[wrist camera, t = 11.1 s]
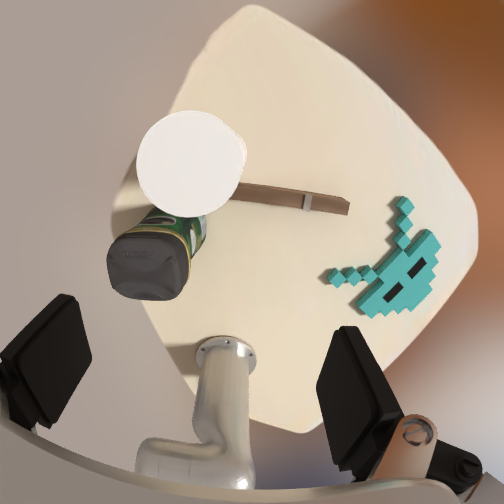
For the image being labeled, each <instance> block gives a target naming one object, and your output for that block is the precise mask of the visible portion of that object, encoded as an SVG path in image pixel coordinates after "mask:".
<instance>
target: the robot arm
mask: <svg viewBox="0 0 504 504" xmlns="http://www.w3.org/2000/svg"><path fill="white" fill-rule="evenodd" d="M0 358H1V360H2V362H1V363H0V504H504V484H502V483H501V482H499V481H498V480H497V479H496V478H494V477H493V476H492V475H490V474H489V473H488V472H485V473H484V474H483V473H482V464H481V462H480V460H479V459H478V458H477V456H475V455H474V454H472V453H470V452H467V451H464V450H462V449H459V448H457V447H455V446H452V445H450V444H447V443H445V442H443V441H440V440H438V439H437V430H436V427H435V426H434V424H433V423H432V422H431V421H430V420H429V419H428V418H426V417H424V416H422V415H418V414H410V415H407V416H404V414H403V412H402V410H401V408H400V406H399V404H398V401H397V399H396V397H395V396H394V394H393V391H392V389H391V388H390V386H389V384H388V382H387V380H386V378H385V376H384V374H383V372H382V370H381V368H380V366H379V365H378V363H377V362H376V360H375V358H374V356H373V354H372V352H371V350H370V349H369V347H368V345H367V343H366V341H365V339H364V338H363V336H362V334H361V332H360V330H359V328H358V327H357V326H341V327H340V328H339V330H335V332H334V334H333V337H332V340H331V343H330V346H329V349H328V352H327V355H326V358H325V361H324V364H323V367H322V370H321V372H320V375H319V378H318V381H317V384H316V392H317V396H318V400H319V404H320V408H321V412H322V416H323V421H324V425H325V429H326V433H327V438H328V441H329V446H330V451H331V455H332V459H333V463H334V464H335V465H338V466H339V470H340V472H341V471H347V470H352V474H353V476H354V478H353V479H352V481H351V482H350V483H348V484H342V485H334V486H326V487H316V488H303V489H285V490H253V489H254V486H255V470H254V465H253V460H252V456H251V450H250V441H249V375H250V374H251V373H252V372H253V370H254V369H255V367H256V361H257V360H256V354H255V352H254V350H253V349H252V347H251V346H250V345H249V344H247V343H246V342H244V341H242V340H240V339H237V338H234V337H227V336H220V337H214V338H211V339H208V340H206V341H205V342H203V343H202V344H201V345H200V346H199V348H198V350H197V353H196V363H197V365H198V367H199V368H200V370H201V373H200V378H199V383H198V389H197V394H196V400H195V406H194V412H193V417H192V425H193V429H194V432H195V434H196V435H197V437H198V438H199V440H200V441H201V442H202V444H198V443H187V442H181V441H174V440H169V439H163V438H148V439H145V440H144V441H143V442H142V443H141V445H140V447H139V449H138V452H137V457H136V463H135V473H133V472H129V471H126V470H122V469H119V468H116V467H112V466H110V465H106V464H104V463H101V462H98V461H95V460H92V459H90V458H87V457H84V456H82V455H79V454H77V453H74V452H72V451H69V450H67V449H65V448H62V447H61V446H58V445H56V444H54V443H52V442H50V441H48V440H46V439H44V438H42V437H40V436H38V435H37V431H36V427H35V424H36V422H38V423H39V424H40V425H42V426H44V427H46V428H48V429H50V428H51V426H52V424H54V423H56V422H57V421H58V419H59V417H60V415H61V413H62V412H63V410H64V408H65V406H66V404H67V403H68V401H69V399H70V397H71V396H72V394H73V392H74V391H75V389H76V387H77V385H78V384H79V382H80V380H81V379H82V377H83V375H84V374H85V372H86V370H87V369H88V367H89V366H90V363H91V361H92V354H91V351H90V347H89V344H88V340H87V336H86V333H85V329H84V324H83V320H82V317H81V311H80V307H79V303H78V301H76V299H75V297H73V296H70V295H66V294H59V295H58V296H57V297H56V298H54V300H52V301H51V302H50V303H49V304H48V305H47V306H46V307H45V308H44V309H43V310H42V311H41V312H40V313H39V314H38V315H37V316H36V317H35V318H34V319H33V320H32V321H31V322H30V323H29V324H28V325H27V326H26V327H25V328H24V329H23V330H22V331H21V332H20V333H19V334H18V335H17V336H16V337H15V338H14V339H13V340H12V341H11V342H10V343H9V344H8V345H7V346H6V348H5V349H4V350H3V351H2V352H1V353H0Z"/></svg>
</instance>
